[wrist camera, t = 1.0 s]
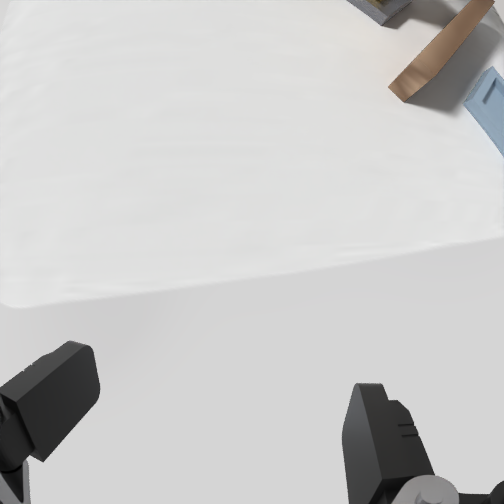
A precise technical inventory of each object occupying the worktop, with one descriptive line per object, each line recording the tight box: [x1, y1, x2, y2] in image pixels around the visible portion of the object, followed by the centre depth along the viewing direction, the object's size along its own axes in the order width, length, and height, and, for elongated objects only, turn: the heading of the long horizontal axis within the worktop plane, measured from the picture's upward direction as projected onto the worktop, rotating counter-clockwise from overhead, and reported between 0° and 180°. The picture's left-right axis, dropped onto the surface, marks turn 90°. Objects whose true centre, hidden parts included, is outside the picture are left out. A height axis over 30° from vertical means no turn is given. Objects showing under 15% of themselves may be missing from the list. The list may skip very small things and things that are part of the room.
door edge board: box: [388, 0, 495, 102], centre depth 22 cm, size 2×20×6 cm, turn 138°
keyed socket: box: [463, 66, 504, 156], centre depth 24 cm, size 8×8×2 cm
